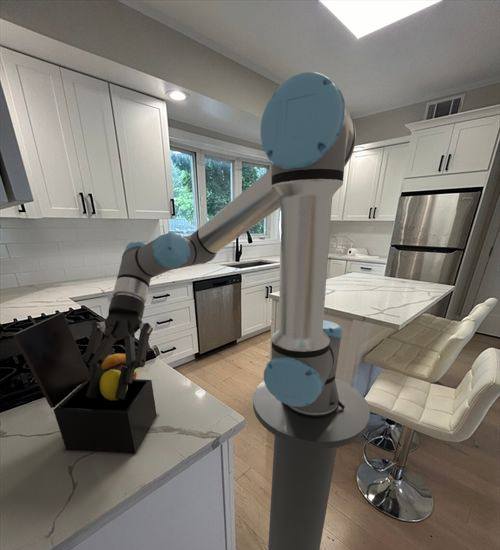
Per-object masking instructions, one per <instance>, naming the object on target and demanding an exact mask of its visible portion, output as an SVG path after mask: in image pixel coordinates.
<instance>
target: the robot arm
mask: <svg viewBox="0 0 500 550" xmlns="http://www.w3.org/2000/svg"><path fill="white" fill-rule="evenodd" d="M259 130H260V131H259V132H260V142H261V146H262V149H263V151H264V153H265V155H266V157H267V159H268V160H269V161H270V163H271V165H270V166H271V168H269V170H267V171H266V172H265V173H264V174H263V175H261V176H260V177H259V178H258V179H257V180H255V182H253V183H252V184H251V185H249V186H248V187H247V188H246V189H245V190H243V191H242V192H241V193H240V194H238V196H236V197H235V198H234V199H232V200H231V201H230V202H229V203H228V204H226V205H225V206H224V207H223V208H222V209H221V210H219V211H218V212H217V213H216V214H214V215H213V216H212V217H211V218H210V219H208V220H207V221H206V222H204V224H203V225H201V226H200V227H199V228H198V229H196V230H195V231H194V232H193V233H192V234H190V235H185V236H183V235H182V234H179V233H178V232H176V231H170V232H167V233H164V234H161V235H158V237H156V238H154V239H153V240H151V241H149V242H148V243H146V242H142V241H137V242H135V241H131V242H129V243H128V244H127V245H126V246H125V249H124V252H123V253H122V257H121V261H120V265H119V270H118V274H117V276H116V281H115V284H114V288H113V292H112V297H111V299H110V302H109V307H108V314H107V316H106V318H105V319H104V320H103V321H99V322H98V321H96V320H94V321H92V323H91V333H90V337H89V339H88V343H87V345H86V348H85V352H84V354H83V356H82V357H83V362H84V363H85V364H86V365H88V366H89V369H88V371H89V374H88V377H87V379H86V380H87V381H89V382H90V383H89V386H88V390H87V394H86V397H89V398H93V399H97V395H98V391H99V387H100V379H101V377H102V375H103V371H104V369H102V367H101V366H102V364H103V362H104V360H105V359H106V357H107V356H109V353H110V351H111V350H112V348H113V347H114V344H115V343H117V342H118V339H122V338H123V339H124V354H125V355H126V364H125V366H127V368H126V367H122V369H121V373H120V378H119V382H118V387H117V391H116V395H115V398H117V399H120V400H125V395H126V391H127V386H128V384H131V383H132V381H133V376H134V371H135V369H139V368H144V367H145V365H146V360H147V352H148V347H149V342H150V341H149V340H150V336H151V335H152V332H153V330H154V328H153V327H152V326H151V324H150V323H149V322H143V317H144V311H145V306H146V305H145V304H146V302H147V298H148V292H149V288H150V284H151V280H152V278H155V277H158V276H159V275H162V274H164V273H167V272H170V271H173V270H178V269H182V268H183V269H184V268H186V267H191V266H197V265H205V264H207V263H209V262H212V261H213V260H214V259H215V258H216V257H217V254H218V253H219V252H220V251H221V250H223V249H224V248H226V247H227V246H228V245H229V244H231V243H232V242H234V241H235V240H237V239H238V238H240V237H241V236H242V235H244V234H245V233H247V232H248V231H249V230H251V229H252V228H253V227H256V226H257V225H258V224H259V223H260V222H262V221H263V220H265V219H266V218H268V217H269V216H271V215H272V214H273V213H275V212H276V211H278V210H279V209H280V210H279V213H280V215H279V219H280V220H279V298H278V299H279V307H278V308H279V309H278V310H279V312H278V315H279V317H278V329H277V330H276V331H275V332H274V333H273V334H272V335H271V357H270V360H269V361H268V362H267V363H266V366H265V368H264V370H263V381H264V382H265V385H266V387H267V389H268V390H269V392H270V393H271V394H273V395H274V396H275V398H276V399H277V400H279V401H281V402H282V403H283V404H284V405H285V406H286V407H287V408H288V409H289V410H290V411H292V412H293V413H295V414H298V415H300V416H304V417H308V418H323V417H327V416H330V415H332V414H333V413H335V412H336V410H337V409H338V405H339V406H340V407H341V408H342V409H344V408H345V406H344V405H343V404H342V403H341V402H340V401H339V396H338V391H337V387H336V382H335V378H336V374H337V367H338V361H339V354H340V348H341V340H342V339H343V336H342V332H343V329H342V327H341V326H340V325H339V324H337V323H336V322H333V321H331V320H326V319H324V318H325V305H326V304H325V303H326V290H327V289H326V288H327V277H328V276H327V275H328V264H329V263H328V261H329V249H330V235H331V234H330V232H331V222H332V221H331V219H332V206H333V197H334V195H335V194H336V193H337V191H338V190H340V188H342V187H343V185H344V175H345V167H346V166H347V164H348V162H349V161H350V160H351V158H352V156H353V152H354V149H355V146H356V139H357V136H356V135H357V133H356V132H357V131H356V125H355V122H354V119H353V116H352V115H351V113H350V112H349V110H348V108H347V106H346V103H345V98H344V95H343V92H342V91H341V90H340V89H339V87H338V85H336V83H334V82H333V81H332V80H331V79H330V78H329V77H328V76H326V75H324V74H322V73H319V72H316V71H304V72H300V73H297V74H294V75H292V76H290V77H289V78H288V79H286V80H285V81H283V82H282V83H281V84H280V85H279V86H277V88H276V90H275V91H274V93H273V94H272V95H271V97H270V98H269V99H268V101H267V103H266V105H265V108H264V110H263V113H262V115H261V121H260V129H259ZM138 331H140V332H139V336H138V342H137V347H136V345H135V342H136V336H135V335H136V332H138Z"/></svg>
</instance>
